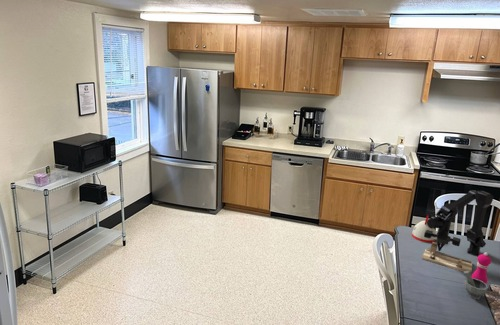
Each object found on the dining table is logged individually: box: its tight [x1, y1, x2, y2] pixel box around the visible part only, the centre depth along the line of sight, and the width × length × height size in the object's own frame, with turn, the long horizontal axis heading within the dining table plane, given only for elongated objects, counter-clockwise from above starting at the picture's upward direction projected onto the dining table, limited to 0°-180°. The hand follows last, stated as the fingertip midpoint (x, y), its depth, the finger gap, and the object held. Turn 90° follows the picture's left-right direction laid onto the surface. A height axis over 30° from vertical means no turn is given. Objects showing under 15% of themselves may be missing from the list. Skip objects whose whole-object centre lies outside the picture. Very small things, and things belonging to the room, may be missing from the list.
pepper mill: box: [471, 251, 492, 284], centre depth 187 cm, size 7×7×20 cm
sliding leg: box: [429, 241, 438, 257], centre depth 216 cm, size 11×3×5 cm, turn 147°
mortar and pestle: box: [463, 271, 489, 300], centre depth 181 cm, size 11×9×12 cm
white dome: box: [411, 215, 437, 243], centre depth 238 cm, size 14×14×15 cm
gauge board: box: [421, 247, 473, 275], centre depth 212 cm, size 13×25×2 cm, turn 57°
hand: (439, 250), depth 216 cm, fingers closed
